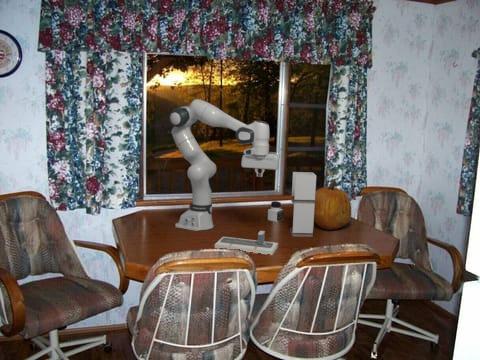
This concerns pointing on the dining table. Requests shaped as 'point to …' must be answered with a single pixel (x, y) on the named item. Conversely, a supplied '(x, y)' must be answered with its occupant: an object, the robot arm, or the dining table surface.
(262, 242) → the fader tab
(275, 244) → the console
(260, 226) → the dining table surface
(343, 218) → the pumpkin
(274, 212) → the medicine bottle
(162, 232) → the dining table surface
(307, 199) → the light grey rectangular tower
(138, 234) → the dining table surface
